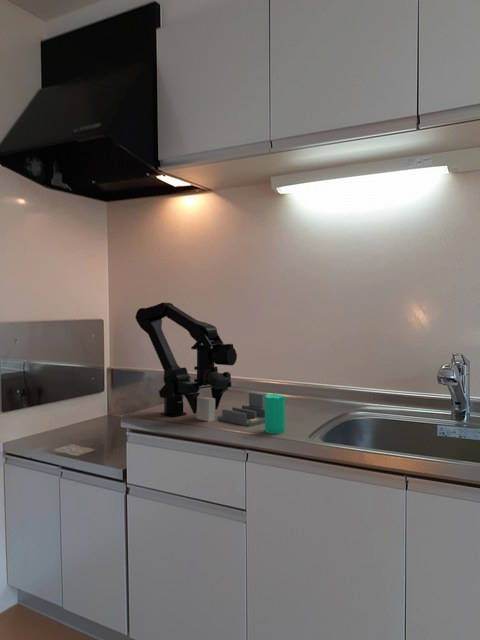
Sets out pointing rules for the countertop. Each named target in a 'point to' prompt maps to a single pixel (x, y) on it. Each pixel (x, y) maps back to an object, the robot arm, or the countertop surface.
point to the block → (205, 408)
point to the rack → (247, 411)
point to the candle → (274, 413)
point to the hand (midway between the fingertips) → (205, 411)
